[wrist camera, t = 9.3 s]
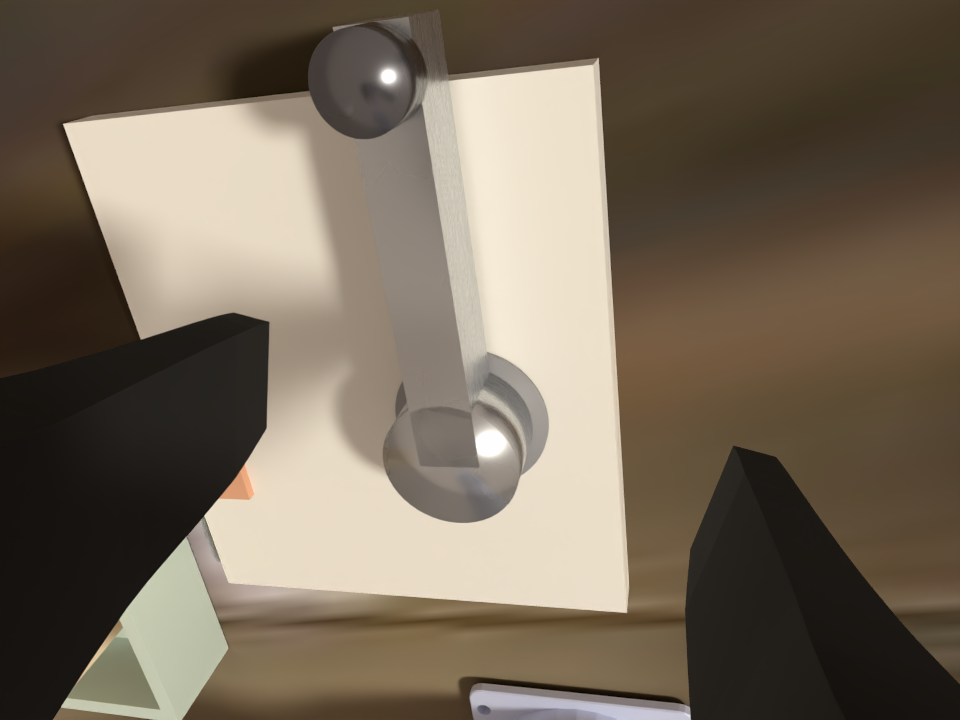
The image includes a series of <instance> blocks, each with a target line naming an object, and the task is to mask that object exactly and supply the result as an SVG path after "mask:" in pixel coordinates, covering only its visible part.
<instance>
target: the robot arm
mask: <svg viewBox="0 0 960 720" xmlns="http://www.w3.org/2000/svg"><path fill="white" fill-rule="evenodd" d="M269 323H270V322H268V321H264V320H261V319H257V318H253V317H249V316H246V315H242V314H238V313H234V312H233V313H228V314H223V315H219V316H215V317H212V318H208V319H205V320H201V321H198V322H195V323H191V324H188V325H185V326H182V327H179V328H176V329H173V330H170V331H167V332H163V333H160V334H157V335H154V336H151V337H148V338H145V339H142V340H138V341H135V342H132V343H129V344H126V345H123V346H120V347H117V348H113V349H110V350H107V351H103V352H99V353H96V354H92V355H89V356H85V357H82V358H78V359H75V360H71V361H68V362H64V363H60V364H57V365H53V366H50V367H46V368H43V369H39V370H34V371H30V372H26V373H22V374H18V375H13V376H9V377H5V378H0V720H53V718H54V717H55V715H56V714H57V712H58V711H59V709H60V708H61V706H62V705H63V703H64V701H65V700H66V698H67V697H68V695H69V694H70V692H71V691H72V689H73V688H74V686H75V685H76V683H77V681H78V680H79V678H80V677H81V675H82V674H83V672H84V671H85V669H86V668H87V666H88V664H89V663H90V661H91V660H92V658H93V657H94V656H95V654H96V653H97V651H98V650H99V648H100V647H101V645H102V644H103V642H104V641H105V640H106V638H107V637H108V635H109V634H110V632H111V631H112V629H113V628H114V626H115V625H116V624H117V622H118V621H119V619H120V618H121V616H122V615H123V613H124V612H125V610H126V609H127V608H128V606H129V605H130V604H131V602H132V601H133V600H134V599H135V597H136V596H137V595H138V593H139V592H140V591H141V590H142V588H143V587H144V586H145V585H146V583H147V582H148V581H149V580H150V578H151V577H152V576H153V575H154V574H155V573H156V571H157V570H158V569H159V568H160V567H161V566H162V564H163V563H164V562H165V561H166V560H167V559H168V557H169V556H170V555H171V554H172V553H173V552H174V550H175V549H176V548H177V547H178V546H179V545H180V543H181V542H182V541H183V540H184V539H185V538H186V536H187V535H188V534H189V533H190V532H191V531H192V529H193V528H194V527H195V526H196V525H197V524H198V522H199V521H200V520H201V519H202V518H203V517H204V515H205V514H206V513H207V512H208V511H209V510H210V508H211V507H212V506H213V505H214V504H215V502H216V501H217V500H218V499H219V498H220V496H221V495H222V494H223V493H224V492H225V490H226V489H227V488H228V487H229V486H230V484H231V483H232V482H233V481H234V479H235V478H236V477H237V475H238V474H239V472H240V471H241V469H242V468H243V466H244V465H245V463H246V461H247V460H248V458H249V457H250V455H251V454H252V452H253V450H254V449H255V447H256V445H257V444H258V442H259V440H260V439H261V437H262V435H263V434H264V432H265V430H266V429H267V397H268V360H269ZM685 615H686V639H687V660H688V679H689V697H690V707H688V706H686V705H684V704H679V703H670V702H660V701H651V700H641V699H631V698H622V697H612V696H602V695H593V694H583V693H574V692H564V691H554V690H545V689H535V688H525V687H516V686H506V685H497V684H487V683H478V684H475V685H473V687H472V688H471V692H470V696H469V699H470V704H471V709H472V714H473V719H474V720H960V684H959V683H958V682H957V681H956V680H955V679H954V678H953V677H952V676H951V675H950V674H949V673H948V672H947V671H946V670H945V669H944V668H943V667H942V666H941V665H940V664H939V662H938V661H937V660H936V659H935V658H934V657H933V656H932V655H931V654H930V653H929V652H928V651H927V650H926V649H925V648H924V647H923V646H922V645H921V644H920V643H919V642H918V641H917V639H916V638H915V637H914V636H913V635H912V634H911V633H910V632H909V631H908V629H907V628H906V627H905V626H904V625H903V624H902V623H901V622H900V620H899V619H898V618H897V617H896V616H895V615H894V613H893V612H892V611H891V610H890V609H889V607H888V606H887V605H886V604H885V603H884V601H883V600H882V599H881V598H880V597H879V595H878V594H877V593H876V592H875V591H874V589H873V588H872V587H871V586H870V585H869V583H868V582H867V581H866V579H865V578H864V577H863V576H862V574H861V573H860V572H859V571H858V569H857V568H856V567H855V565H854V564H853V563H852V562H851V560H850V559H849V558H848V556H847V555H846V554H845V552H844V551H843V550H842V548H841V547H840V546H839V544H838V543H837V542H836V540H835V539H834V537H833V536H832V535H831V533H830V532H829V531H828V529H827V528H826V526H825V525H824V524H823V522H822V521H821V519H820V518H819V517H818V515H817V514H816V512H815V511H814V509H813V508H812V507H811V505H810V504H809V502H808V501H807V499H806V498H805V497H804V495H803V494H802V492H801V491H800V489H799V488H798V487H797V485H796V484H795V482H794V481H793V479H792V478H791V476H790V475H789V474H788V472H787V471H786V469H785V468H784V467H783V465H782V464H781V463H780V461H779V460H778V459H777V458H776V457H774V456H770V455H766V454H763V453H759V452H755V451H751V450H748V449H744V448H740V447H736V446H733V448H732V450H731V453H730V455H729V457H728V460H727V462H726V465H725V467H724V469H723V472H722V474H721V477H720V479H719V482H718V484H717V486H716V489H715V491H714V494H713V496H712V499H711V501H710V503H709V506H708V508H707V511H706V513H705V515H704V518H703V520H702V523H701V525H700V528H699V530H698V532H697V535H696V537H695V540H694V542H693V544H692V547H691V549H690V560H689V570H688V581H687V594H686V607H685Z"/></svg>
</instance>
